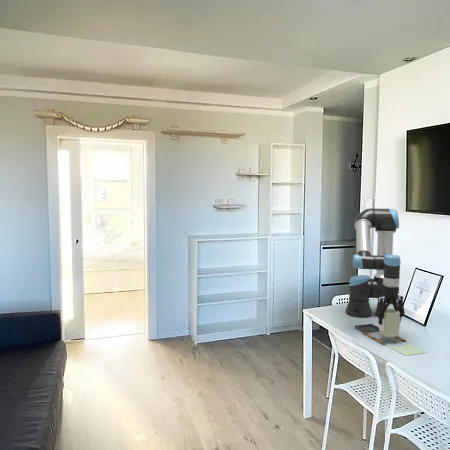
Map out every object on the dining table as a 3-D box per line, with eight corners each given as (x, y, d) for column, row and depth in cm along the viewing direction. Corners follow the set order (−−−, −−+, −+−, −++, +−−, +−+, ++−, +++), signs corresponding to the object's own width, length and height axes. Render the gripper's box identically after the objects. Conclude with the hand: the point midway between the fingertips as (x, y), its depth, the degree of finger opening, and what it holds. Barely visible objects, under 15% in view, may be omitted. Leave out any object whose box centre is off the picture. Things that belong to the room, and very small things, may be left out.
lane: (362, 333, 210) (362, 332, 210) (384, 331, 215) (384, 329, 215) (383, 344, 195) (383, 343, 195) (406, 341, 199) (406, 340, 199)
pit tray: (354, 328, 219) (355, 325, 219) (371, 326, 222) (371, 323, 222) (364, 333, 211) (364, 330, 211) (381, 331, 215) (381, 328, 214)
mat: (390, 347, 192) (390, 347, 192) (410, 344, 195) (410, 344, 195) (405, 355, 182) (405, 355, 182) (426, 352, 186) (426, 352, 186)
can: (402, 336, 196) (403, 312, 195) (384, 336, 196) (385, 313, 195) (393, 330, 206) (394, 307, 205) (376, 330, 205) (377, 307, 204)
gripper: (378, 288, 192) (376, 334, 194) (414, 286, 198) (412, 330, 200) (368, 285, 199) (366, 329, 201) (403, 282, 206) (401, 325, 207)
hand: (389, 329), depth 201 cm, fingers closed on can, 9 cm apart
